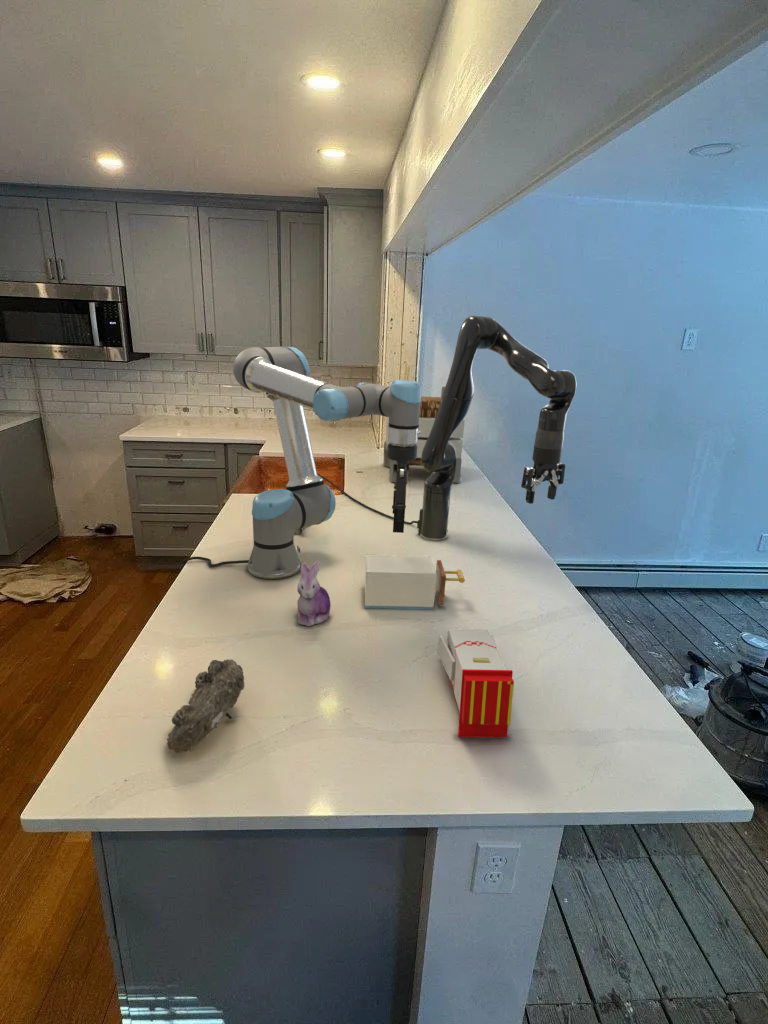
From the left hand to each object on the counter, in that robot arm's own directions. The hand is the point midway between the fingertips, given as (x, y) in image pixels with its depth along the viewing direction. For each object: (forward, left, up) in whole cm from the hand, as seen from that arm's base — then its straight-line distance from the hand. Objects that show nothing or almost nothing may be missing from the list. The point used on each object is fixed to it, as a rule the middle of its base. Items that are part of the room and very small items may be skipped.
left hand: (397, 522), depth 150 cm
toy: (+30, -32, -22) cm, 49 cm away
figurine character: (-49, +30, -22) cm, 61 cm away
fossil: (-12, -61, -22) cm, 66 cm away
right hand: (+32, +28, +3) cm, 43 cm away
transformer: (-37, +121, -22) cm, 128 cm away
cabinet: (+2, -1, -22) cm, 22 cm away
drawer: (+7, +1, -21) cm, 22 cm away
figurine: (-13, -21, -22) cm, 33 cm away
